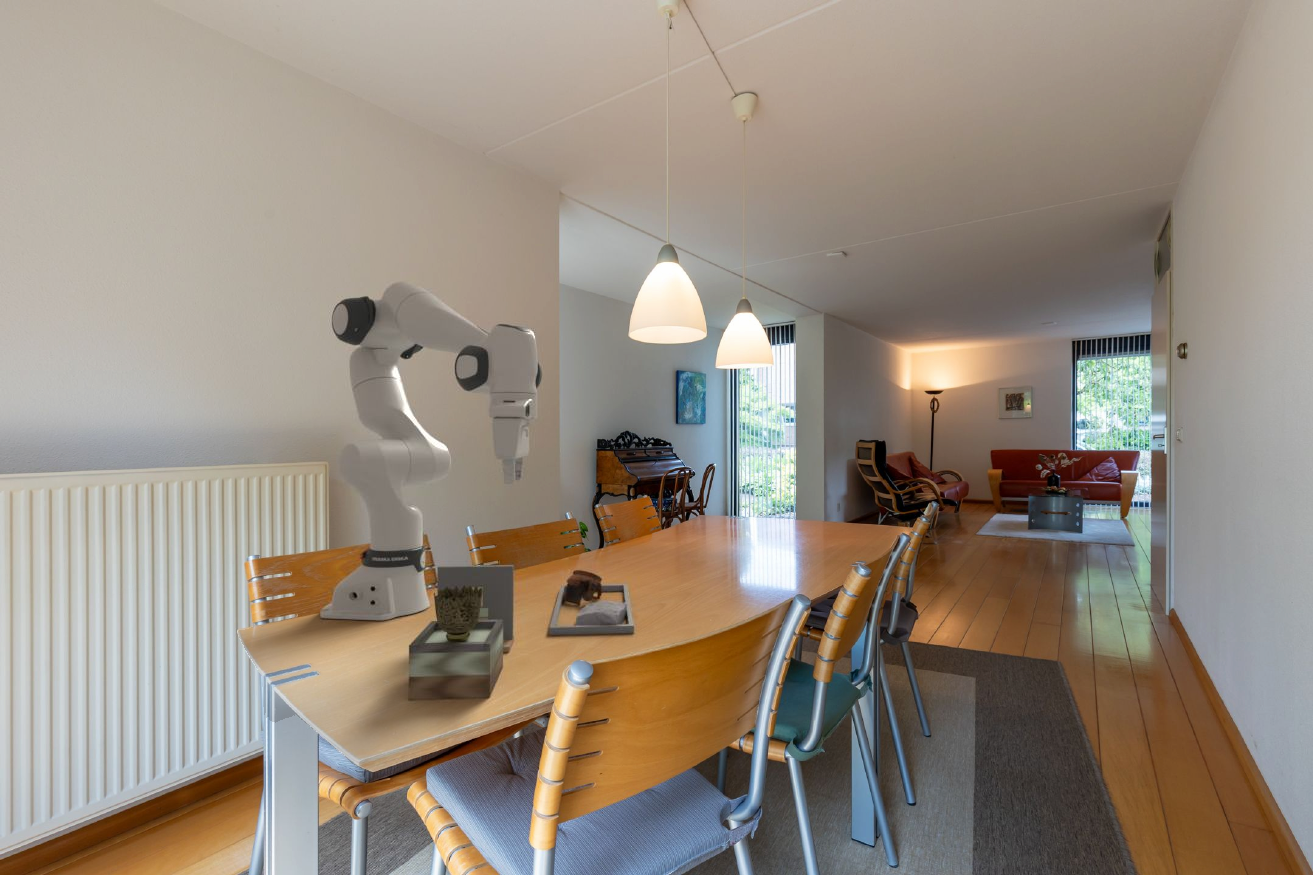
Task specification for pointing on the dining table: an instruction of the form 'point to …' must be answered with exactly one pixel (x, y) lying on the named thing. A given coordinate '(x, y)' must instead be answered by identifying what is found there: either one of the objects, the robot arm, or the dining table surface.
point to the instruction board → (486, 592)
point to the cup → (458, 611)
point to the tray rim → (592, 628)
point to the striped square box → (456, 662)
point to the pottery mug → (582, 587)
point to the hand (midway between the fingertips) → (513, 481)
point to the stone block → (602, 613)
